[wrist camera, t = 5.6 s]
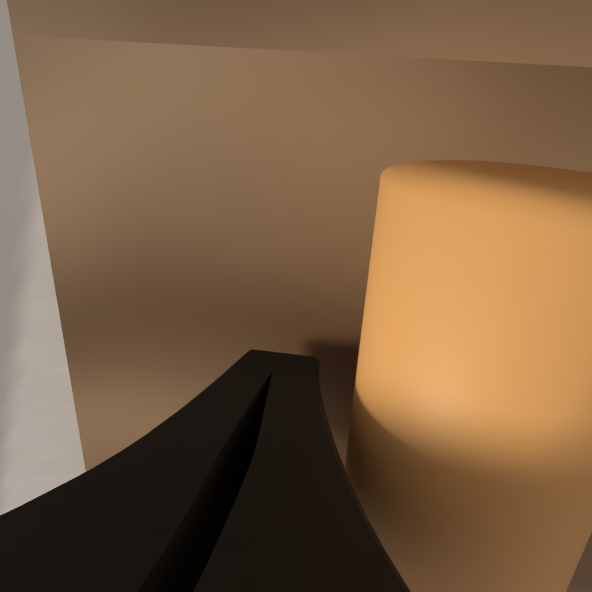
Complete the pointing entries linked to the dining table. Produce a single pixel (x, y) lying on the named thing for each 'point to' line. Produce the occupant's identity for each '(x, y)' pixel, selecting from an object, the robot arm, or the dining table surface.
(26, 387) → the dining table surface
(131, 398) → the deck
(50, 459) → the dining table surface
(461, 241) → the roller
